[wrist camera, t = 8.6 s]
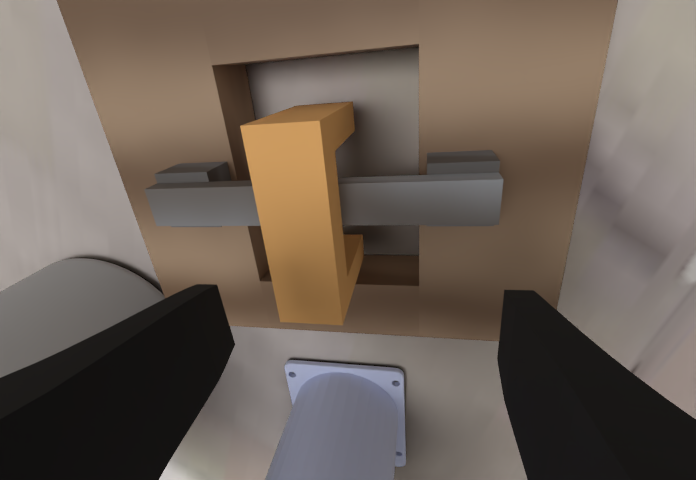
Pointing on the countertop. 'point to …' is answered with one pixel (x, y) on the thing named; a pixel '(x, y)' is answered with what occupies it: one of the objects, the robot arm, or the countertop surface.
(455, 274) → the hook board
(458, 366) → the countertop surface
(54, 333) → the cylinder vase
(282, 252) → the orange c-shaped bracket
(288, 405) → the countertop surface
